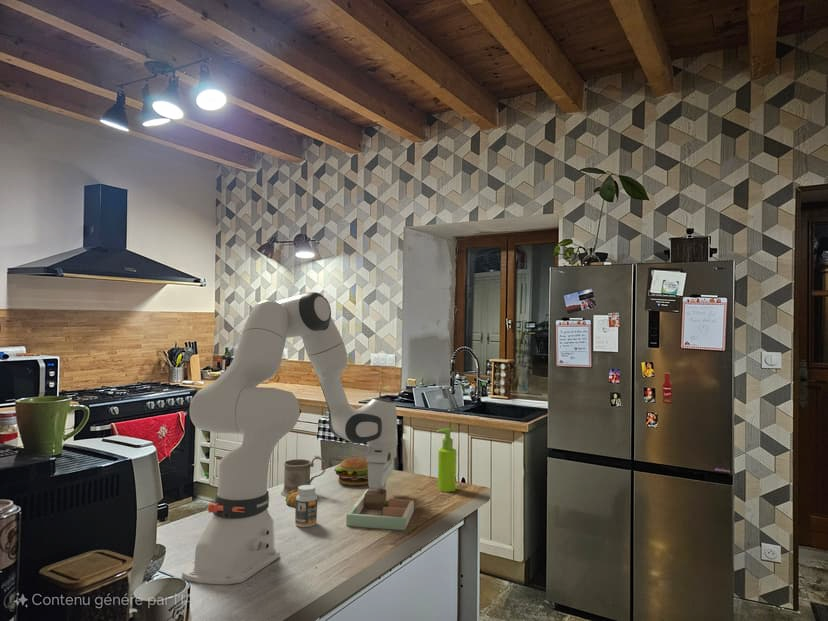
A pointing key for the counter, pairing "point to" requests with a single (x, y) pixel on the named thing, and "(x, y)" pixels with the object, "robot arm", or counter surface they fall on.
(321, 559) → the counter surface
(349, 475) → the food
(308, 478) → the mug
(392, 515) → the box
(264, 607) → the counter surface
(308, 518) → the pill bottle
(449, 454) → the soap dispenser
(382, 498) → the block
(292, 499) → the pastry
